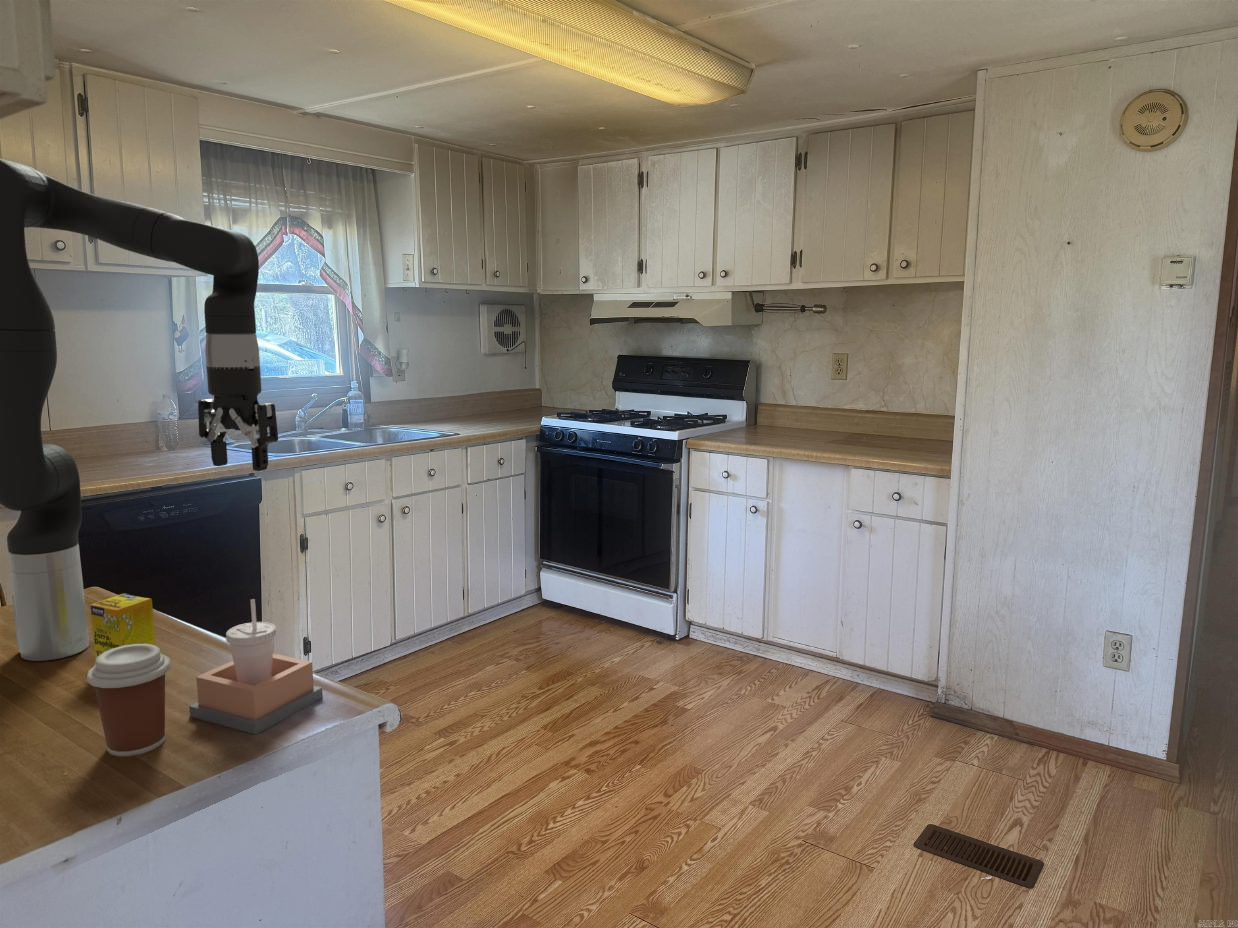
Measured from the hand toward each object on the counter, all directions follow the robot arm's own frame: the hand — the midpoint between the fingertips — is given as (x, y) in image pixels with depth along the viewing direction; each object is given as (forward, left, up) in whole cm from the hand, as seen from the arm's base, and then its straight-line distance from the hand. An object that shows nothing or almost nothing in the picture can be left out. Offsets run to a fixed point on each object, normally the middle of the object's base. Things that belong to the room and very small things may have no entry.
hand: (240, 467), depth 133 cm
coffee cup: (+11, -29, -30) cm, 43 cm away
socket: (+17, -15, -30) cm, 37 cm away
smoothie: (+17, -15, -29) cm, 36 cm away
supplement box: (-11, -14, -30) cm, 35 cm away
